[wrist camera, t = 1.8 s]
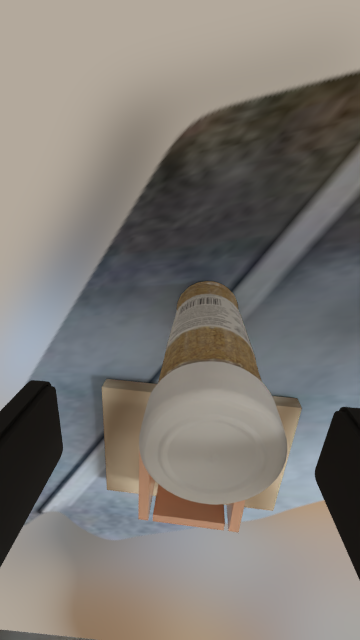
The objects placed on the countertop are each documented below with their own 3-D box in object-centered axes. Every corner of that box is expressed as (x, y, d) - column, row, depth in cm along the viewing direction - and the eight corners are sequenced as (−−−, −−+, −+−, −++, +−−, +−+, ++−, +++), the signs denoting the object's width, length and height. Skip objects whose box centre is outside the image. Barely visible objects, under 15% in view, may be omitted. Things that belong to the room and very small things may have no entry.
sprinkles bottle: (176, 334, 22) (136, 503, 9) (178, 277, 20) (132, 388, 7) (235, 338, 21) (277, 519, 9) (242, 280, 20) (306, 403, 7)
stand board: (297, 398, 23) (301, 408, 22) (270, 498, 27) (273, 510, 26) (106, 378, 24) (101, 387, 23) (110, 478, 28) (106, 489, 27)
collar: (247, 421, 23) (254, 457, 19) (234, 491, 26) (238, 532, 22) (148, 410, 23) (139, 443, 20) (146, 480, 26) (138, 519, 23)
